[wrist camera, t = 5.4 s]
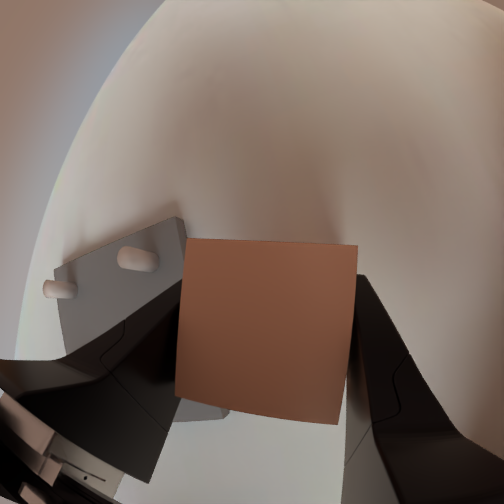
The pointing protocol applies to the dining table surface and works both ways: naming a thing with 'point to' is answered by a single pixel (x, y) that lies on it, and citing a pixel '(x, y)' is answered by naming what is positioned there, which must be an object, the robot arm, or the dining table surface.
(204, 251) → the terracotta post
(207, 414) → the standoff chassis
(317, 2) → the dining table surface
